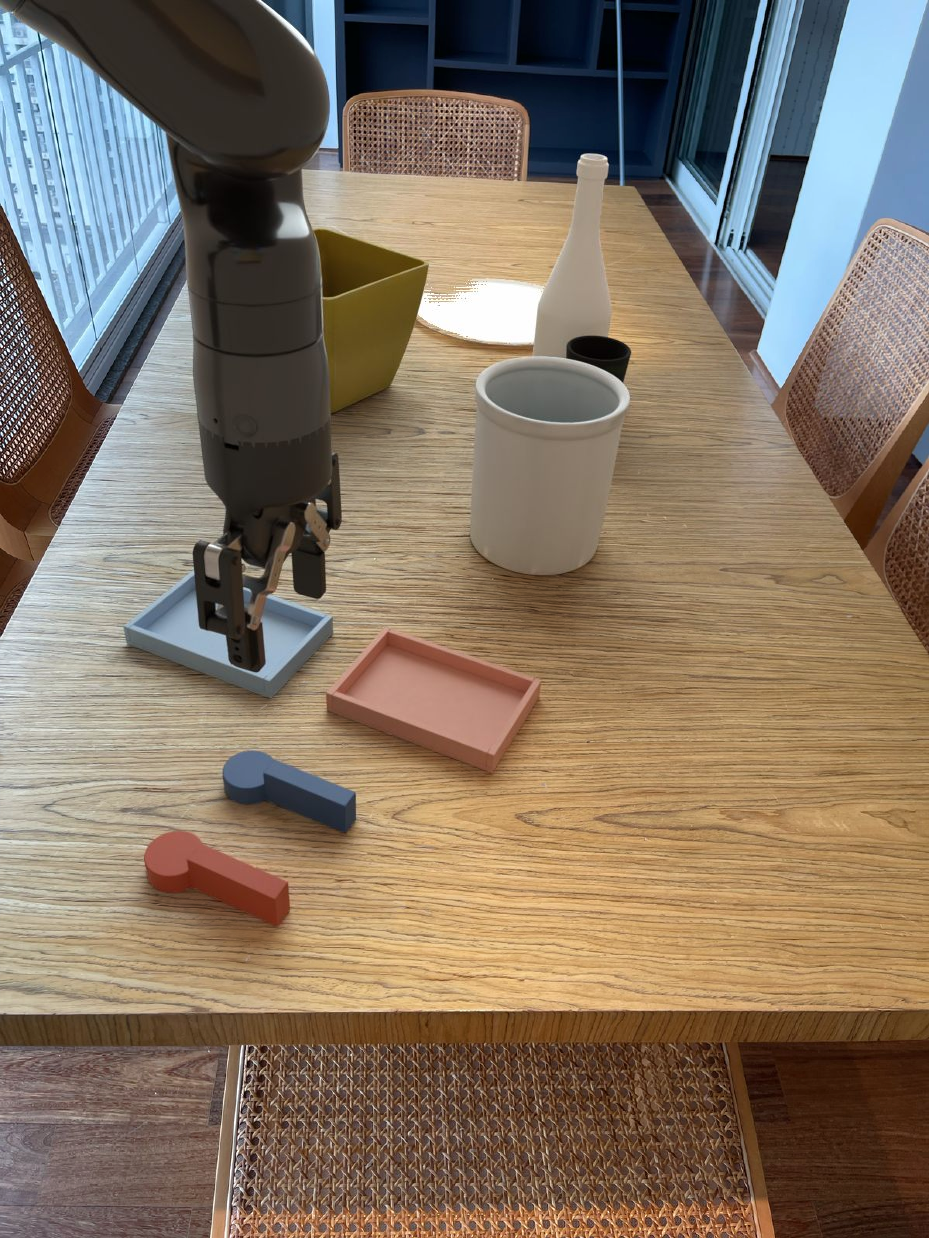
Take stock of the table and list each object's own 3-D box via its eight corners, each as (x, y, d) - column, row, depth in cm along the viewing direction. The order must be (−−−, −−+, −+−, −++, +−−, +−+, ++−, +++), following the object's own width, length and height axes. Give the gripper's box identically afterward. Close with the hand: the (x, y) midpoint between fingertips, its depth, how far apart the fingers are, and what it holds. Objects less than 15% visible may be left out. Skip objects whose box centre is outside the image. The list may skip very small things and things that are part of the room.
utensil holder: (622, 575, 102) (652, 419, 91) (480, 585, 99) (494, 425, 89) (580, 501, 113) (603, 354, 103) (452, 508, 111) (461, 357, 100)
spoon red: (299, 896, 69) (298, 868, 67) (267, 941, 66) (264, 913, 64) (171, 839, 72) (166, 811, 70) (135, 879, 69) (128, 851, 67)
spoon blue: (364, 808, 76) (364, 781, 74) (337, 845, 73) (336, 818, 71) (244, 759, 79) (241, 732, 77) (213, 793, 76) (209, 765, 74)
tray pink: (539, 697, 87) (541, 679, 85) (492, 773, 79) (494, 755, 78) (384, 643, 91) (384, 626, 90) (326, 710, 84) (325, 692, 83)
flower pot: (428, 386, 135) (433, 260, 125) (331, 433, 123) (328, 298, 112) (324, 346, 144) (321, 226, 133) (224, 387, 131) (212, 258, 121)
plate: (595, 293, 168) (596, 285, 167) (587, 361, 145) (588, 353, 144) (424, 274, 170) (424, 267, 170) (389, 338, 147) (389, 330, 147)
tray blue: (333, 633, 92) (332, 616, 91) (271, 699, 84) (269, 681, 83) (196, 585, 97) (194, 568, 95) (126, 643, 89) (122, 626, 88)
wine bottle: (610, 392, 137) (647, 157, 119) (578, 416, 131) (612, 171, 112) (550, 373, 141) (577, 143, 123) (515, 395, 134) (539, 156, 116)
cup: (542, 435, 126) (553, 344, 118) (583, 419, 130) (596, 330, 123) (587, 459, 121) (601, 366, 114) (628, 442, 126) (644, 351, 118)
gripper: (267, 350, 64) (282, 561, 73) (134, 446, 53) (171, 677, 63) (375, 373, 62) (375, 586, 72) (260, 477, 51) (278, 711, 61)
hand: (280, 628), depth 67 cm, fingers open, 8 cm apart
